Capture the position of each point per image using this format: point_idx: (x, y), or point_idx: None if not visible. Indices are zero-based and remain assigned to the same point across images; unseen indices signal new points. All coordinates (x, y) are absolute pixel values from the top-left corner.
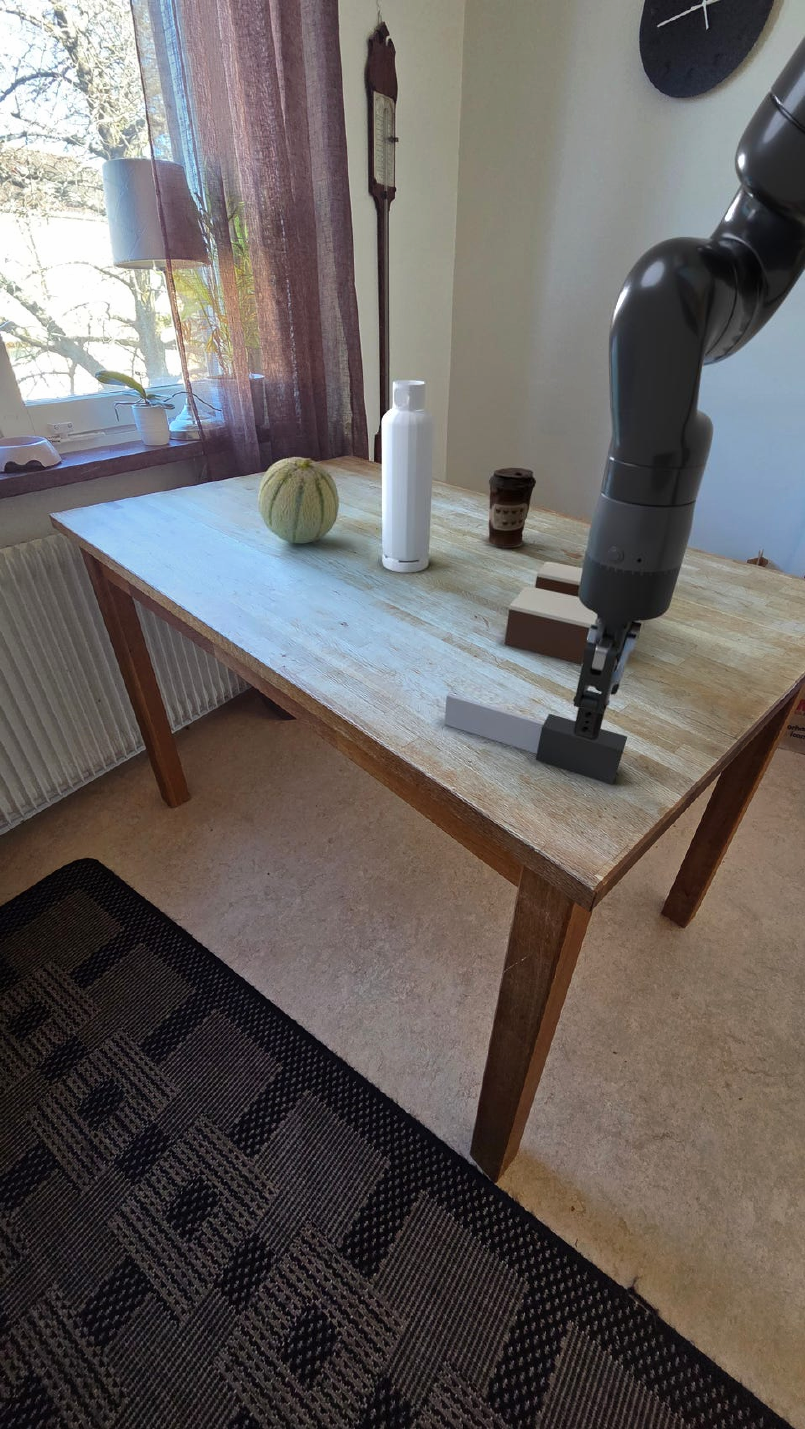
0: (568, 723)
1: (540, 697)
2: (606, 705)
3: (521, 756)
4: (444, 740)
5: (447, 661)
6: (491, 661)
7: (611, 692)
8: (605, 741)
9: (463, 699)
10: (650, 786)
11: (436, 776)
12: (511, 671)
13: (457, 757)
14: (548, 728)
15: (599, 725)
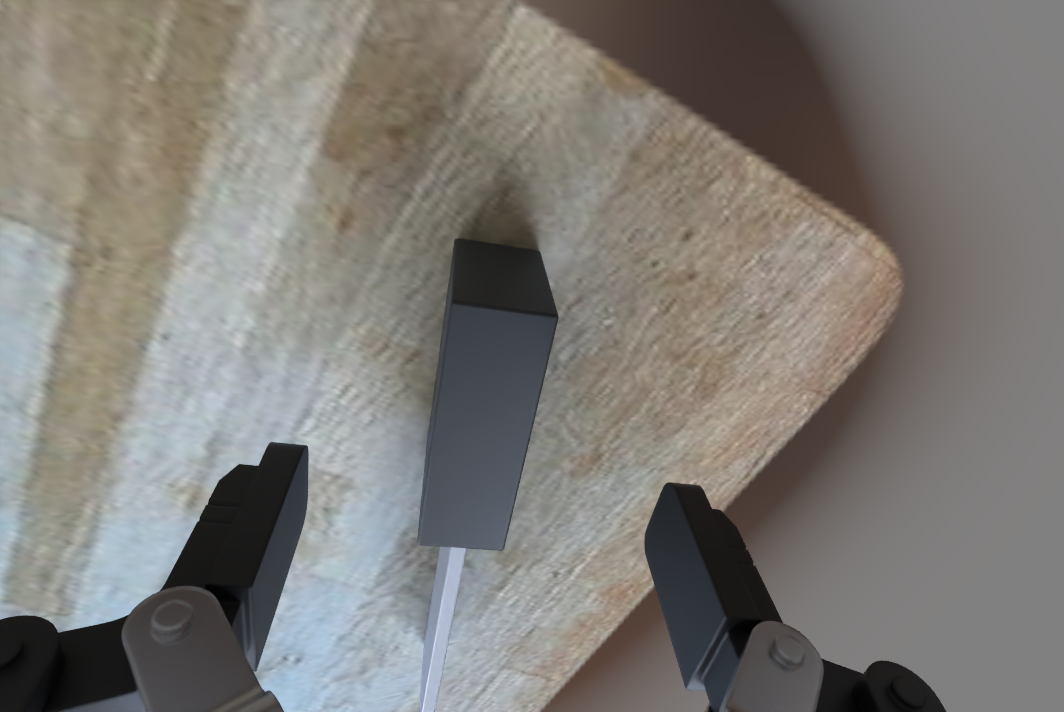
0: (451, 490)
1: (161, 490)
2: (922, 704)
3: None
4: (495, 630)
5: None
6: None
7: (305, 461)
8: (518, 375)
9: (430, 710)
10: (503, 119)
11: (627, 611)
12: (64, 580)
13: (548, 596)
14: (505, 534)
15: (721, 538)
